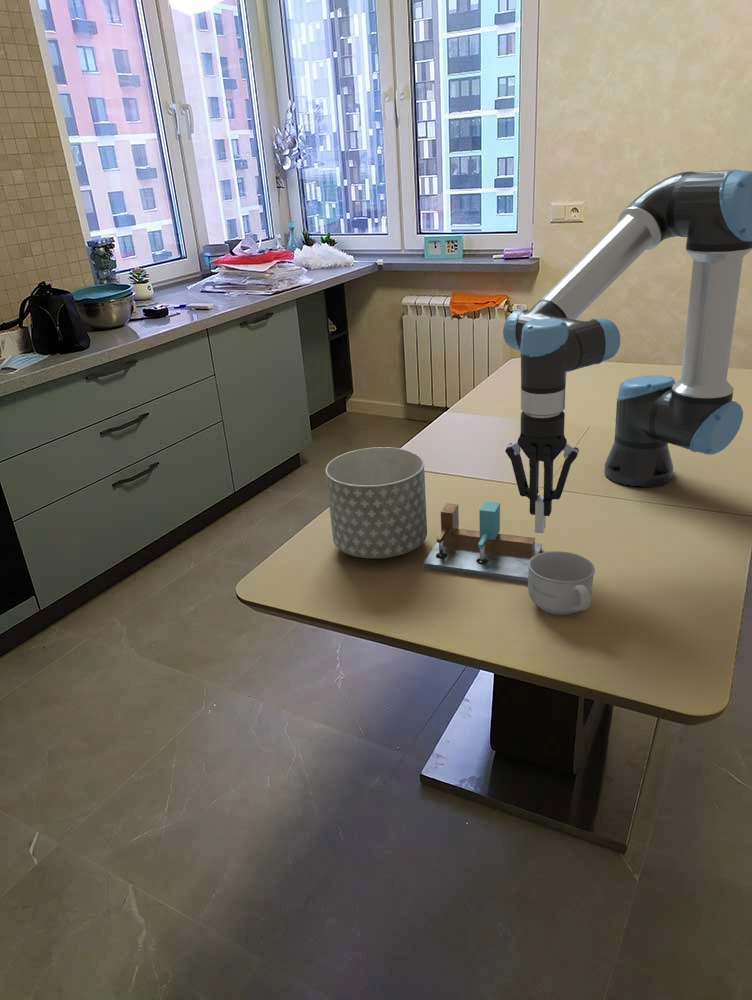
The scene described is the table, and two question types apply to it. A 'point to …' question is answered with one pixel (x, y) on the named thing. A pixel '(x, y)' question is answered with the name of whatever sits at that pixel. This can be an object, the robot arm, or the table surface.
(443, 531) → the gauge board
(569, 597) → the teacup
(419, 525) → the planter
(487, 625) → the table surface
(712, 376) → the robot arm
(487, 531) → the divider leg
